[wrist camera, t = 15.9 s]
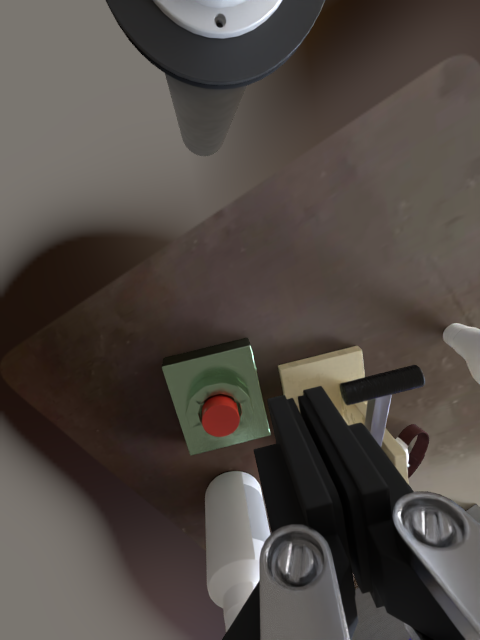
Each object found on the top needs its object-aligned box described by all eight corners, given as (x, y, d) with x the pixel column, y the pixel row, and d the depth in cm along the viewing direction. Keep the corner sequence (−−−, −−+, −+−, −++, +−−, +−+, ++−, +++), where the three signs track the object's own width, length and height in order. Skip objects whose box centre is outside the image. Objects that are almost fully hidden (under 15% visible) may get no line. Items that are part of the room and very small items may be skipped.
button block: (163, 357, 36) (159, 375, 32) (247, 336, 36) (253, 352, 33) (190, 442, 40) (189, 468, 36) (267, 423, 40) (274, 446, 36)
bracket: (277, 365, 38) (314, 441, 26) (357, 345, 38) (430, 411, 26) (293, 446, 42) (332, 545, 30) (366, 427, 42) (433, 518, 30)
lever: (336, 373, 23) (352, 402, 21) (409, 354, 23) (431, 382, 21) (333, 468, 31) (344, 495, 29) (387, 454, 31) (401, 480, 30)
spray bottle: (239, 521, 44) (264, 718, 27) (194, 500, 43) (190, 698, 26) (271, 483, 43) (318, 667, 26) (226, 460, 41) (245, 642, 24)
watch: (395, 417, 42) (413, 436, 38) (429, 424, 43) (449, 443, 39) (371, 469, 44) (385, 491, 41) (403, 474, 45) (420, 496, 42)
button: (197, 400, 34) (197, 410, 32) (233, 391, 34) (235, 400, 33) (206, 430, 35) (206, 441, 34) (241, 421, 35) (243, 431, 34)
